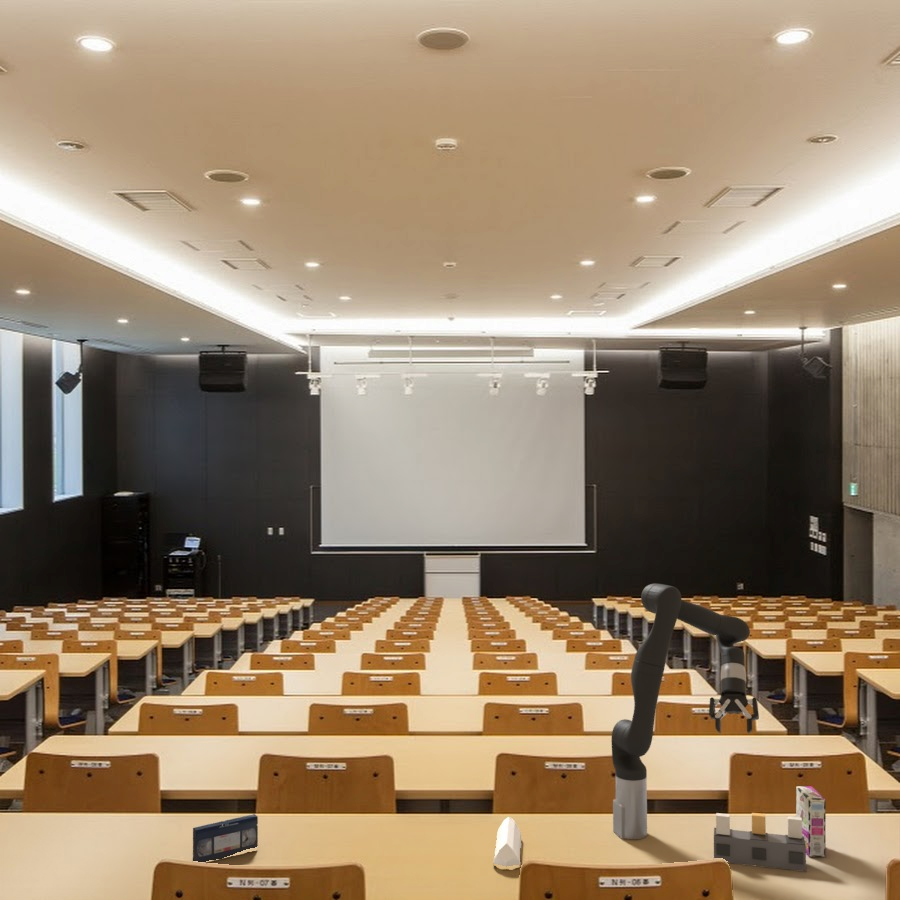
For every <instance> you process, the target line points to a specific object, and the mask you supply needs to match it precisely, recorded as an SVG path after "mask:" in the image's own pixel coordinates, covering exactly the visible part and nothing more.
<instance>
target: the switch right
mask: <svg viewBox="0 0 900 900" xmlns="http://www.w3.org/2000/svg"><path fill="white" fill-rule="evenodd" d="M787 835H788V837H792V838H802V818H801V817H796V816H787Z"/></svg>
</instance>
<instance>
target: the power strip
mask: <svg viewBox="0 0 900 900" xmlns="http://www.w3.org/2000/svg"><path fill="white" fill-rule="evenodd" d="M806 856H807V854H806V844H805V839H804V837H802V838H792V837H788V834H785V835H784V834H777V833H776V834H775V833H768V832H766V835H763V834H753V833H752V830H750V831H747V830H746V831H745V830H740V829H739V830H737V829H733V828H730V835H724V834H716V827H714V828H713V859H714V858H723V859H725V860H726V861H728V862H729V863H728V864H734V865H735V864H736V865H743V864H745V865H744V866H752V865H756V866H755V867H760V866H763V867H762V868H769V867H771V869H778V868H779V869H780V868H782V869H781V870H787V869H790V870H789V871H796V870H798V872H807V857H806Z"/></svg>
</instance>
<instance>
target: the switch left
mask: <svg viewBox="0 0 900 900" xmlns="http://www.w3.org/2000/svg"><path fill="white" fill-rule="evenodd" d="M730 816H731V814H728V813H719V812H716V813H715V818H716V819H715V823H716V824H715V826H716V827H715V828H716V834H724V835H730V829H731V823H730V822H731V820H730V819H731V817H730Z"/></svg>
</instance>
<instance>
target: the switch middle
mask: <svg viewBox="0 0 900 900" xmlns="http://www.w3.org/2000/svg"><path fill="white" fill-rule="evenodd" d="M766 824H767V823H766V814H765V813H757V812H751V831H752V833H753V834H763V835H766V833H767V832H766Z"/></svg>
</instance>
